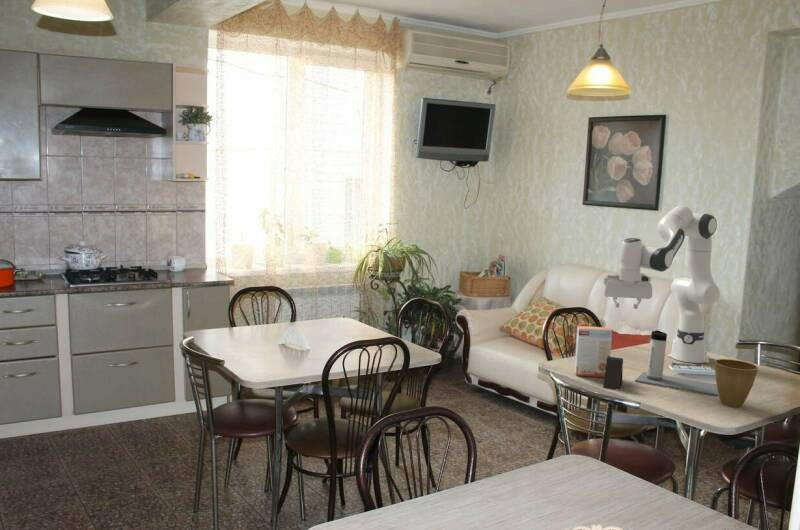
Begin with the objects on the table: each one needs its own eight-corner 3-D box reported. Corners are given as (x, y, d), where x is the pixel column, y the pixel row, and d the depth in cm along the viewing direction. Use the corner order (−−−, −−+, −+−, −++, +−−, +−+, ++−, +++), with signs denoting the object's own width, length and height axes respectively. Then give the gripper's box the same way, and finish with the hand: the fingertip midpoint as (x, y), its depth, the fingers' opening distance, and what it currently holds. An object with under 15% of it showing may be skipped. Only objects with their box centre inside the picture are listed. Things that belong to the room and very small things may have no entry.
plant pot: (717, 409, 263) (721, 367, 261) (706, 397, 277) (710, 357, 276) (759, 412, 261) (764, 370, 259) (745, 400, 275) (750, 360, 274)
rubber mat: (643, 373, 309) (643, 371, 309) (722, 387, 293) (722, 385, 293) (635, 381, 295) (635, 379, 295) (717, 396, 279) (717, 394, 279)
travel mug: (659, 377, 302) (664, 331, 300) (663, 380, 295) (669, 333, 294) (644, 375, 302) (649, 329, 301) (648, 379, 296) (653, 332, 294)
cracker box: (606, 374, 305) (610, 327, 302) (609, 378, 299) (613, 330, 296) (573, 372, 306) (577, 325, 304) (575, 375, 300) (579, 327, 298)
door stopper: (607, 382, 292) (609, 354, 291) (622, 384, 290) (624, 356, 288) (602, 387, 285) (605, 358, 283) (618, 390, 282) (620, 361, 280)
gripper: (606, 275, 298) (603, 307, 300) (654, 278, 297) (652, 310, 299) (602, 273, 304) (600, 305, 306) (650, 276, 304) (647, 307, 305)
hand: (626, 307), depth 303 cm, fingers open, 7 cm apart
